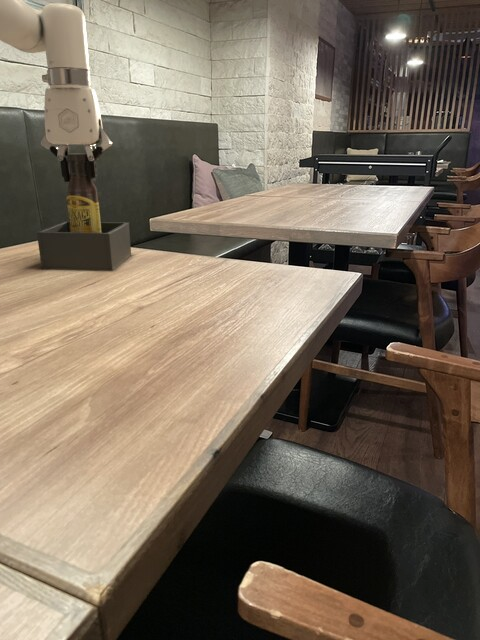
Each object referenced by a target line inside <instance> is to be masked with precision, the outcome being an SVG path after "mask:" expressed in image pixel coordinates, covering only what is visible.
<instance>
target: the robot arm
mask: <svg viewBox="0 0 480 640" xmlns="http://www.w3.org/2000/svg"><path fill="white" fill-rule="evenodd" d="M0 41H1V42H3V43H5V44H7V45H9V46H11V47H13V48H14V49H16V50H18V51H20V52H23V53H26V54H27V53H28V54H36V53H37V54H38V53H44V52H45V59H46V66H47V70H46V73H45V74H42V75H41V81H42V83H47V84H48V86H49V88H45V90H44V91H45V92H44V107H43V109H44V110H43V111H44V129H45V133H44V135H43V138H42V139H41V141H40V145H41V146H42V147H44V148H45V149H47V150H49V151H50V152H51V153H52V154H53V155H54V156H55V157H56V158H57V160H58V161H59V163H60V170H61V171H60V172H61V176H62V178H63V181H64V182H65V183H69V180H70V166H69V162H68V156H67V155H68V154H70V145H83V147H84V149H85V150H84V151H85V153H86V154H87V157H88V158H87V159H88V161H86V172H87V181H88V182H93V183H95V182H96V181H97V179H98V175H99V174H98V163H97V162H98V160H99V158H100V157H101V156H102V155H103V153H104V152H105V151H106V150H108V149H109V148H110V147H113V142H112V141H111V139H110V137H109V136H108V135H107V133H106V132H105V130H104V127H103V121H102V115H101V110H100V105H99V100H98V97H97V93H96V90H95V89H94V88H92V81H91V79H92V78H91V72H90V71H91V69H90V59H89V58H90V57H89V46H88V36H87V24H86V16H85V13H84V11H83V10H82V9H81V8H80V7H79V6H76V5H74V4H70V3H63V2H53V3H48V4H47V3H46V4H45V5H44V6H43V8H42V9H36V8H34V7H32V6H30V5H29V4H27V3H26V2H25V1H24V0H0ZM96 145H98V146H96Z"/></svg>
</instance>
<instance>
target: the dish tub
mask: <svg viewBox="0 0 480 640" xmlns="http://www.w3.org/2000/svg"><path fill="white" fill-rule="evenodd" d="M100 222H101V233H85V232H70V225H69V221H66V220H65V221H62V222H60V223H57V224H55V225H52V226H49V227H47V228H44V229H42V230H39V231H36V235H37V236H36V237H37V243H38V251H39V259H40V266H41V270H53V271H54V270H58V271H61V270H62V271H97V272H98V271H100V272H101V271H103V272H113V271H114V270H115V269H117V268H118V267H119V266H120V265H122V264H123V263H124V262H126V261H127V260H128V259H129V258H130V257H132V249H131V248H132V247H131V233H130V231H131V230H130V222H124V221H123V222H121V221H119V222H117V221H115V222H114V221H100Z"/></svg>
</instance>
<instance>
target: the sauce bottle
mask: <svg viewBox="0 0 480 640" xmlns="http://www.w3.org/2000/svg"><path fill="white" fill-rule="evenodd" d="M67 156H68V162H69V166H70V180H69V182H68V186H67V192H66V193H67V195H66V208H67V215H68V222H69V225H70V232H85V233H101V222H102V221H101V213H100V203H99V199H98V198H99V197H98V189H97V188H98V187H97V186H96V185H95V182H88V181H87V172H86V161H88V159H87V158H88V157H87V153H86V152H85V153H83V152H80V153H78V152H77V153H69V154H68V155H67Z"/></svg>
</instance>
